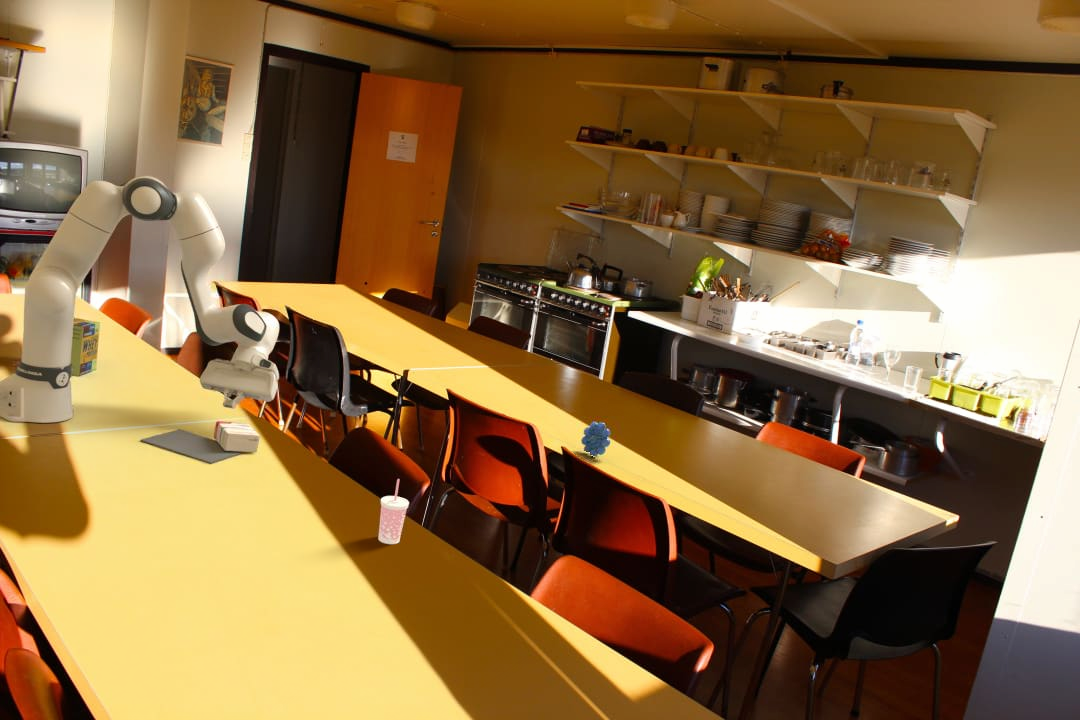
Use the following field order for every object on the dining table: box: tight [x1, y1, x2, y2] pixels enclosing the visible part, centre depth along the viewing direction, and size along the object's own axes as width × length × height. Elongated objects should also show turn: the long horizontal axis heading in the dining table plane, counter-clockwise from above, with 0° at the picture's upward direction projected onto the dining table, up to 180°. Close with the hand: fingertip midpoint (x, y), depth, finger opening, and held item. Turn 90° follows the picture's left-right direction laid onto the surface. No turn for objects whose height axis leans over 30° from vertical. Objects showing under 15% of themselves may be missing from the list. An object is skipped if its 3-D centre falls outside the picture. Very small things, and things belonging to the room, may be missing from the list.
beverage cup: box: [378, 478, 410, 545], centre depth 194 cm, size 6×6×14 cm
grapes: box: [580, 421, 611, 457], centre depth 285 cm, size 12×7×12 cm, turn 42°
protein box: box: [71, 317, 101, 377], centre depth 274 cm, size 10×15×16 cm
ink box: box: [213, 420, 260, 453], centre depth 234 cm, size 8×5×12 cm
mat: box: [139, 428, 247, 465], centre depth 230 cm, size 22×14×1 cm, turn 70°
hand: (228, 406), depth 238 cm, fingers closed
